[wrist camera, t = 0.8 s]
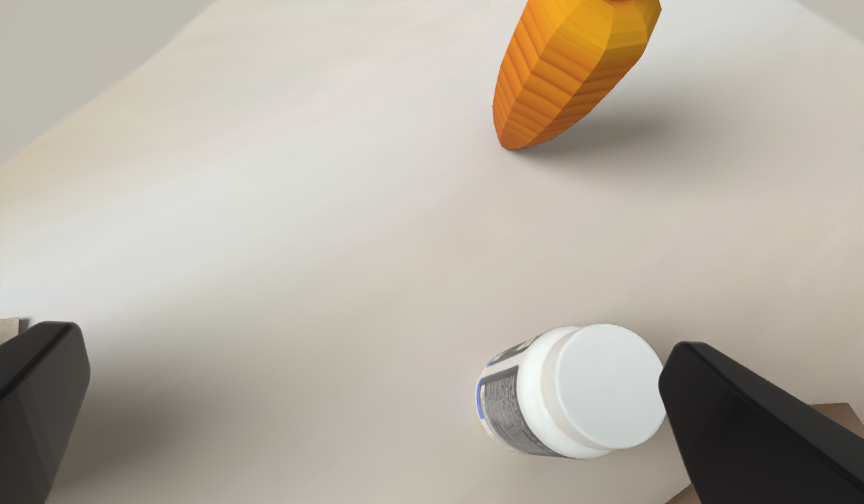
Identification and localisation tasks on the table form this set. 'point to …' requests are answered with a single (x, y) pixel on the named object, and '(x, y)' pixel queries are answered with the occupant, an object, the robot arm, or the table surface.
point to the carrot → (566, 64)
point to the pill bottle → (572, 393)
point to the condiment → (8, 328)
